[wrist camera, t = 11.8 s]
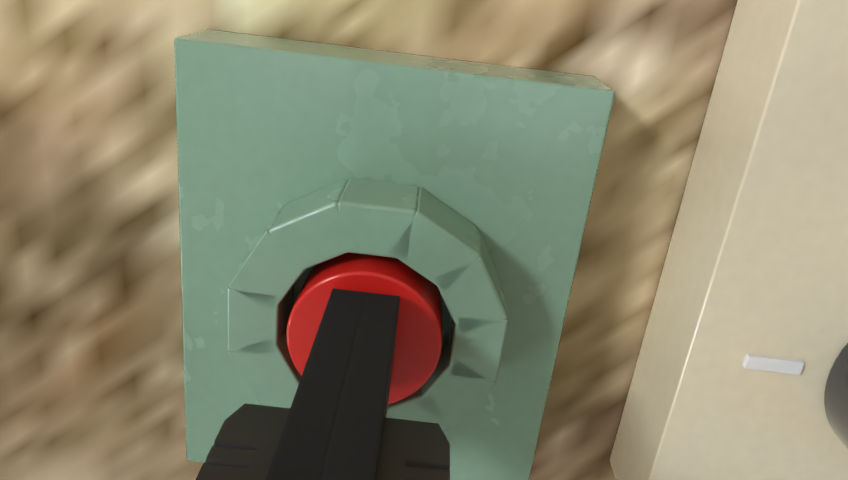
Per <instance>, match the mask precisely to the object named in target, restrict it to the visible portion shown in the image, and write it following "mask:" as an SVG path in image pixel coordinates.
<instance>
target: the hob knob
mask: <svg viewBox="0 0 848 480" xmlns="http://www.w3.org/2000/svg"><path fill="white" fill-rule="evenodd" d="M824 406H825V412H826V416H827V419H828V422H829V425H830V427H831V428H832V430H833V432H834V433H835V435H836V436H837V437H838V438H839V440H840V441H841V442H842V443H843V444H844V446H845V447H846V448H847V449H848V343H847V344H846V345H845V346H844V348H843V349H842V350H841V352H840V353H839V355H838V356H837V358H836V359H835V361H834V363H833V365H832V367H831V369H830V372H829V374H828V377H827V380H826V385H825V390H824Z"/></svg>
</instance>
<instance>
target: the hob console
mask: <svg viewBox="0 0 848 480" xmlns="http://www.w3.org/2000/svg"><path fill="white" fill-rule="evenodd" d="M847 343H848V0H738V1H737V5H736V9H735V12H734V16H733V19H732V23H731V27H730V30H729V34H728V37H727V41H726V44H725V48H724V52H723V55H722V59H721V62H720V66H719V70H718V73H717V77H716V80H715V84H714V88H713V91H712V95H711V98H710V102H709V105H708V109H707V113H706V116H705V120H704V123H703V127H702V131H701V134H700V138H699V141H698V145H697V148H696V152H695V156H694V159H693V163H692V166H691V170H690V174H689V177H688V181H687V184H686V188H685V191H684V195H683V199H682V202H681V206H680V209H679V213H678V217H677V220H676V224H675V227H674V231H673V234H672V238H671V242H670V245H669V249H668V252H667V256H666V260H665V263H664V267H663V270H662V274H661V277H660V281H659V285H658V288H657V292H656V295H655V299H654V303H653V306H652V310H651V313H650V317H649V320H648V324H647V328H646V331H645V335H644V338H643V342H642V346H641V349H640V353H639V356H638V360H637V363H636V367H635V371H634V374H633V378H632V381H631V385H630V389H629V392H628V396H627V399H626V403H625V406H624V410H623V414H622V417H621V421H620V424H619V428H618V432H617V435H616V439H615V442H614V446H613V450H612V453H611V457H610V463H611V466H612V469H613V472H614V475H615V478H616V480H848V449H847V448H846V447H845V446H844V444H843V443H842V442H841V441H840V440H839V438H838V437H837V436H836V435H835V433H834V432H833V430H832V428H831V427H830V425H829V422H828V419H827V416H826V412H825V406H824V390H825V385H826V380H827V377H828V374H829V372H830V369H831V367H832V365H833V363H834V361H835V359H836V358H837V356H838V355H839V353H840V352H841V350H842V349H843V348H844V346H845V345H846V344H847Z"/></svg>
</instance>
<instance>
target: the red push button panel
mask: <svg viewBox="0 0 848 480" xmlns="http://www.w3.org/2000/svg"><path fill="white" fill-rule="evenodd" d="M174 44H175V79H176V113H177V147H178V182H179V216H180V250H181V285H182V319H183V354H184V388H185V422H186V457H187V461H194V462H203V463H205V461H206V457H207V455H208V453H209V451H210V449H211V447H212V445H213V446H214V441H215V439H216V437H217V435H218V433H219V431H220V429H221V427H222V425H223V423H224V421H225V419H227V418H228V417H229V416H230V415H231V414H233V413H234V412H235V411H236V410H237V409H239V408H240V407H241V406H242V405H243V404H245V403H247V404H256V405H264V406H273V407H282V408H291V405H292V402H293V399H294V396H295V394H296V391H297V388H298V385H299V382H300V379H301V377H302V376H301V375H300V373H299V372H298V370H297V369H296V367H295V365H294V363H293V361H292V359H291V357H290V354H289V351H288V346H287V338H286V331H287V323H288V319H289V316H290V313H291V311H292V309H293V306H294V304H295V302H296V300H297V298H298V295H299V293H300V291H301V289H302V287H303V284H304V282H305V280H306V278H307V276H308V274H309V273H310V271H311V270H312V268H313V267H314V266H315V265H317V264H320V263H322V262H325V261H327V260H330V259H332V258H335V257H337V256H340V255H343V254H345V253H348V252H350V253H358V254H367V255H375V256H383V257H392V258H397V259H399V260H400V261H402V262H403V263H404V264H406V265H407V266H409V267H410V268H412V269H413V270H415V271H416V272H418V273H419V274H421V275H422V276H424V277H425V278H426V279H428V280H429V281H431V282H432V283H434V284H435V285H437V287H438V289H439V291H440V295H441V299H442V349H441V354H440V359H439V361H438V364H437V367H436V368H435V370H434V372H433V374H432V375H431V377H430V378H429V379H428V380H427V382H426V383H425V384H424V385H423V386H422V387H421V388H420V389H418V390H417V391H416V392H414V393H413V394H411V395H410V396H408V397H406V398H404V399H402V400H399V401H397V402H394V403H391V404H388V408H387V415H386V418H395V419H403V420H412V421H421V422H430V423H438V424H439V425H440V427H441V429H442V431H443V433H444V434H445V436H446V438H447V440H448V441H449V443H450V480H529V476H530V471H531V467H532V462H533V458H534V453H535V449H536V444H537V440H538V435H539V431H540V427H541V422H542V418H543V413H544V409H545V404H546V400H547V395H548V391H549V386H550V382H551V377H552V373H553V368H554V364H555V359H556V355H557V350H558V346H559V341H560V337H561V332H562V328H563V323H564V319H565V315H566V310H567V306H568V301H569V297H570V292H571V288H572V283H573V279H574V274H575V270H576V265H577V261H578V256H579V252H580V247H581V243H582V238H583V234H584V229H585V225H586V220H587V216H588V212H589V207H590V203H591V198H592V194H593V189H594V185H595V180H596V176H597V171H598V167H599V162H600V158H601V153H602V149H603V144H604V140H605V135H606V131H607V126H608V122H609V117H610V113H611V108H612V104H613V100H614V95H615V92H614V91H613V90H612V89H610V88H609V87H608V86H606V85H605V84H604V83H602V82H601V81H600V80H598V79H597V78H596V77H594V76H586V75H578V74H569V73H561V72H553V71H545V70H537V69H529V68H520V67H512V66H504V65H496V64H488V63H479V62H471V61H463V60H455V59H447V58H438V57H430V56H422V55H414V54H406V53H398V52H389V51H381V50H373V49H365V48H357V47H348V46H340V45H332V44H324V43H316V42H307V41H299V40H291V39H283V38H275V37H267V36H258V35H250V34H242V33H234V32H226V31H217V30H209V29H207V30H204V31H200V32H196V33H192V34H189V35H185V36H181V37H177V38H175V40H174Z"/></svg>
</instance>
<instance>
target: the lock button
mask: <svg viewBox="0 0 848 480" xmlns="http://www.w3.org/2000/svg"><path fill="white" fill-rule="evenodd" d="M333 288H335V289H343V290H352V291H360V292H369V293H378V294H386V295H395V296H400V303H399V312H398V321H397V330H396V339H395V348H394V357H393V365H392V374H391V383H390V392H389V400H388V404H391V403H394V402H397V401H399V400H402V399H404V398H406V397H408V396H410V395H411V394H413V393H414V392H416V391H417V390H418V389H420V388H421V387H422V386H423V385H424V384H425V383H426V382H427V380H428V379H429V378H430V377H431V375H432V374H433V372H434V370H435V368H436V367H437V364H438V361H439V359H440V354H441V349H442V299H441V295H440V291H439V289H438V287H437V285H435V284H434V283H432V282H431V281H429V280H428V279H426V278H425V277H424V276H422V275H421V274H419V273H418V272H416V271H415V270H413V269H412V268H410V267H409V266H407V265H406V264H404V263H403V262H402V261H400V260H399V259H397V258H392V257H383V256H375V255H367V254H358V253H350V252H348V253H345V254H343V255H340V256H337V257H335V258H332V259H330V260H327V261H325V262H322V263H320V264H317V265H315V266H314V267H313V268H312V270H311V271H310V273H309V274H308V276H307V278H306V280H305V282H304V284H303V287H302V289H301V291H300V293H299V295H298V298H297V300H296V302H295V304H294V306H293V309H292V311H291V313H290V316H289V319H288V323H287V331H286V338H287V346H288V351H289V354H290V357H291V359H292V361H293V363H294V365H295V367H296V369H297V370H298V372H299V373H300V375H301V376H302V374H303V371H304V368H305V365H306V362H307V360H308V357H309V354H310V351H311V348H312V345H313V343H314V340H315V337H316V334H317V331H318V328H319V326H320V323H321V320H322V317H323V314H324V311H325V309H326V306H327V303H328V300H329V297H330V294H331V292H332V289H333Z"/></svg>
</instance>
